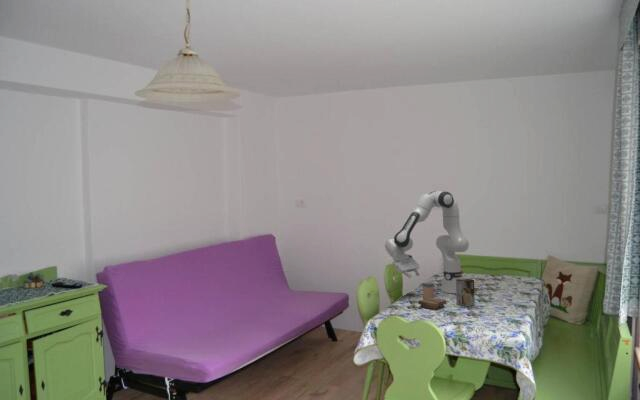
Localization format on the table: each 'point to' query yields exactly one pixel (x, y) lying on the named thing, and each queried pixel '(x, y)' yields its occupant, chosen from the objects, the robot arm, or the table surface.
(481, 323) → the table surface
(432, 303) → the walnut stand
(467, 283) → the coffee box
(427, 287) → the housing
